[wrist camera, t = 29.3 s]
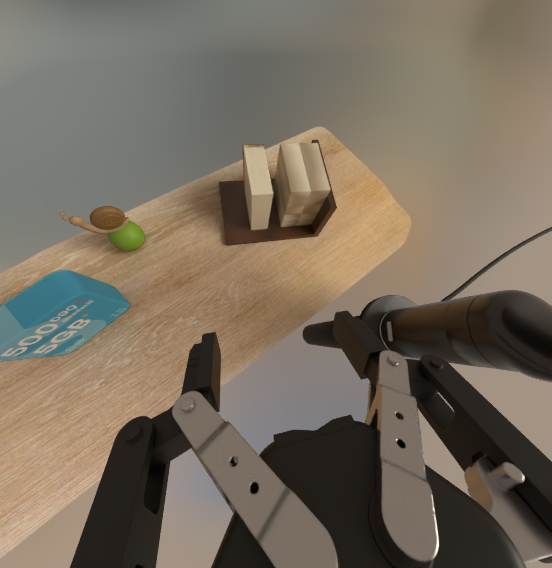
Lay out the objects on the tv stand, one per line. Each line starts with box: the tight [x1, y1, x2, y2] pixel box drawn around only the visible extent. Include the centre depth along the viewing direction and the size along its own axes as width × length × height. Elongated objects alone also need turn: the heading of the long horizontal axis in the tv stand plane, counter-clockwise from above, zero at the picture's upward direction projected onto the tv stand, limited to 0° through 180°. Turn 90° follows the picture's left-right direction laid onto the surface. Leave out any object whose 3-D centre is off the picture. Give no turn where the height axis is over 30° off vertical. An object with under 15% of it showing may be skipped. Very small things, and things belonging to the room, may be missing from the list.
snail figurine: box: [60, 206, 145, 251], centre depth 33 cm, size 5×6×12 cm
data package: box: [0, 270, 130, 361], centre depth 29 cm, size 12×4×12 cm, turn 135°
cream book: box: [243, 144, 273, 230], centre depth 38 cm, size 4×10×11 cm, turn 10°
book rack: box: [219, 140, 337, 245], centre depth 39 cm, size 20×15×12 cm
